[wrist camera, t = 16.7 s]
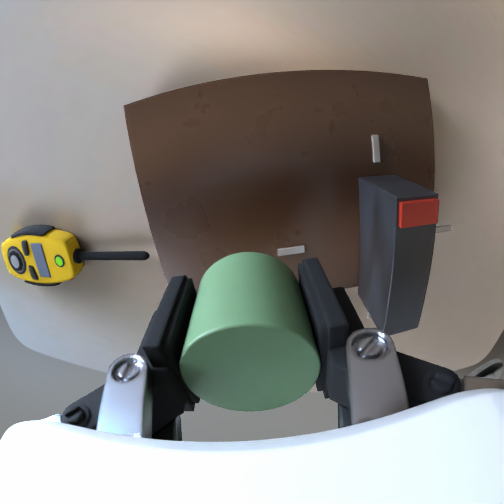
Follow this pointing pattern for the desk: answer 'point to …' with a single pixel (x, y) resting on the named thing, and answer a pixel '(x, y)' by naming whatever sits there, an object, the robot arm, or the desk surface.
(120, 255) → the yellow walkie-talkie
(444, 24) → the desk surface
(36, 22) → the desk surface
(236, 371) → the green cylinder
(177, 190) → the base
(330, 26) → the desk surface
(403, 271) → the block
